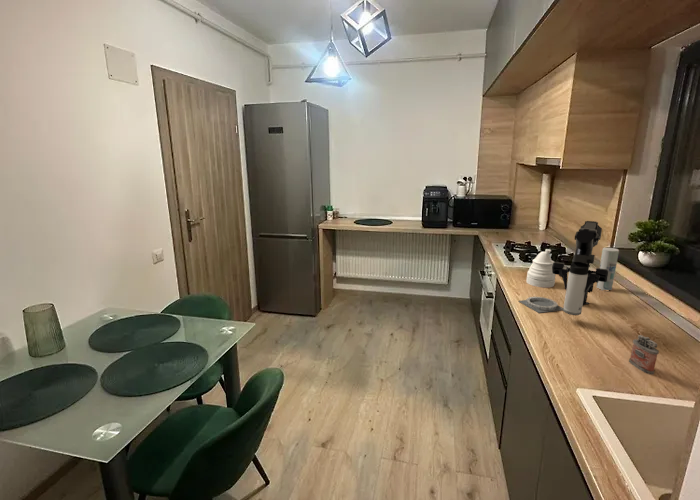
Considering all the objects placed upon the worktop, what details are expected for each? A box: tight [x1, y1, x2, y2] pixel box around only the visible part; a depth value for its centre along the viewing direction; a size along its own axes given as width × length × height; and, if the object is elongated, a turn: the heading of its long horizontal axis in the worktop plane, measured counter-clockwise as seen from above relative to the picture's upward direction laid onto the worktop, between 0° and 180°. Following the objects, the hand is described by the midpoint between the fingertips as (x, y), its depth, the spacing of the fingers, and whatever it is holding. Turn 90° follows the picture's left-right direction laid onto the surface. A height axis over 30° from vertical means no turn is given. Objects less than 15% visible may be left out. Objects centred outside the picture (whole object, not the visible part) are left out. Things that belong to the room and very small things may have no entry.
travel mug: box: [562, 263, 591, 316], centre depth 147 cm, size 6×7×20 cm
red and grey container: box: [628, 334, 660, 375], centre depth 117 cm, size 8×3×10 cm, turn 5°
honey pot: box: [526, 248, 556, 289], centre depth 191 cm, size 13×13×18 cm
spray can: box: [596, 247, 620, 291], centre depth 182 cm, size 6×6×20 cm
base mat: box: [518, 299, 564, 314], centre depth 166 cm, size 13×13×1 cm
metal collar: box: [525, 296, 559, 311], centre depth 165 cm, size 12×12×1 cm
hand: (575, 290), depth 146 cm, fingers closed on travel mug, 6 cm apart
